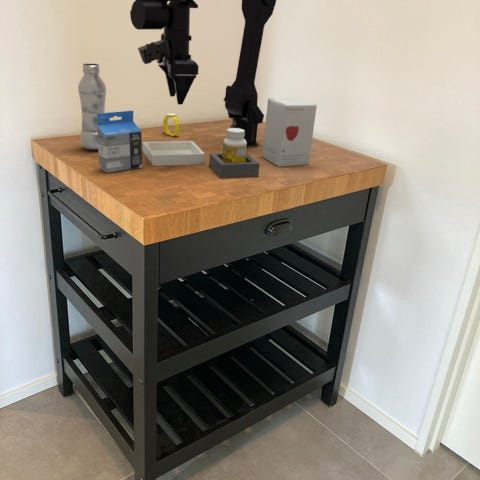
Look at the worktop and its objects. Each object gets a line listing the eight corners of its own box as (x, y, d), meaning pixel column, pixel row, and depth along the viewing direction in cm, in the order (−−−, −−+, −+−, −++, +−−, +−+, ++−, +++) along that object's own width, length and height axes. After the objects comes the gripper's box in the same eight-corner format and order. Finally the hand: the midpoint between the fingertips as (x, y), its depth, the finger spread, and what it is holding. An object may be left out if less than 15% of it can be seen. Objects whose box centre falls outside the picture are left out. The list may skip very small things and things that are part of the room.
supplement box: (278, 167, 126) (284, 104, 120) (261, 156, 133) (266, 97, 127) (310, 165, 130) (318, 104, 123) (291, 154, 137) (298, 96, 131)
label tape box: (106, 174, 113) (104, 117, 108) (98, 168, 116) (95, 112, 111) (142, 168, 118) (142, 113, 113) (133, 163, 121) (133, 110, 116)
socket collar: (244, 164, 126) (245, 152, 125) (258, 176, 119) (259, 163, 118) (209, 165, 123) (209, 153, 122) (220, 178, 116) (221, 165, 115)
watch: (161, 134, 148) (160, 113, 145) (169, 133, 149) (168, 112, 147) (174, 137, 144) (173, 115, 141) (182, 136, 145) (181, 114, 143)
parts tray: (192, 150, 134) (192, 140, 133) (204, 164, 124) (205, 153, 123) (142, 151, 130) (142, 141, 129) (152, 166, 120) (152, 155, 119)
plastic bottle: (75, 150, 127) (69, 64, 119) (91, 143, 133) (87, 61, 124) (98, 154, 125) (94, 67, 117) (113, 147, 131) (111, 64, 123)
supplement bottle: (249, 172, 121) (252, 131, 117) (230, 175, 118) (233, 133, 114) (235, 166, 125) (238, 126, 121) (217, 169, 122) (219, 128, 118)
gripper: (134, 24, 123) (136, 92, 129) (146, 32, 107) (148, 109, 113) (181, 26, 126) (180, 92, 133) (200, 34, 110) (197, 108, 117)
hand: (176, 100), depth 124 cm, fingers open, 9 cm apart
